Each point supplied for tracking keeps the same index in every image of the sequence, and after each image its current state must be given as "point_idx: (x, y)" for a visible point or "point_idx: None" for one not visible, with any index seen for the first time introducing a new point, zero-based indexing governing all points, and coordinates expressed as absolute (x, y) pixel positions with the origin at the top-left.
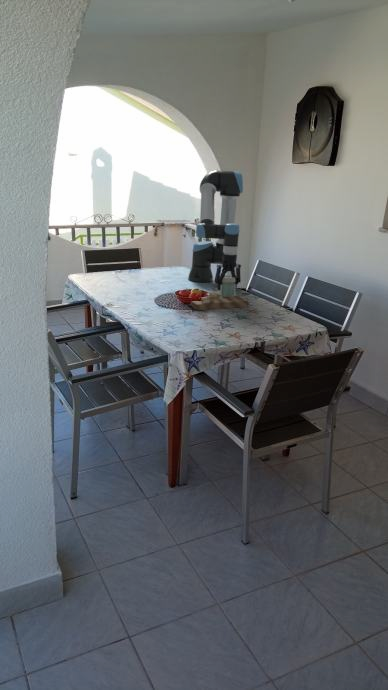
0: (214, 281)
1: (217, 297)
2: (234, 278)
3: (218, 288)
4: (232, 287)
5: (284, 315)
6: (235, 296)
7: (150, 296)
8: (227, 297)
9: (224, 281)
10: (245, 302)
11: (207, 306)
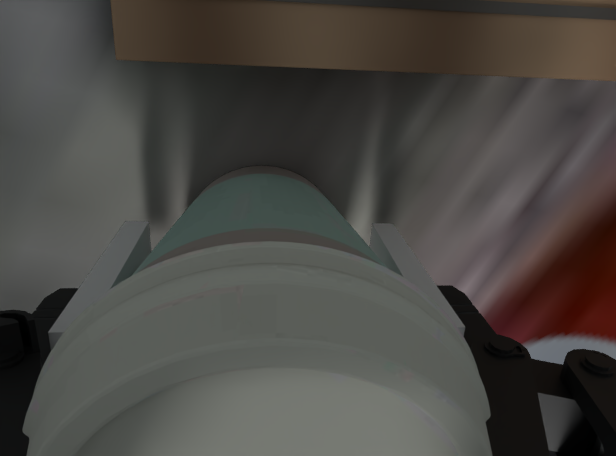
0: (601, 450)
1: None
2: (90, 383)
3: (469, 307)
4: (205, 220)
5: None
6: (212, 37)
7: None
8: (417, 3)
9: (456, 339)
10: None
11: None
